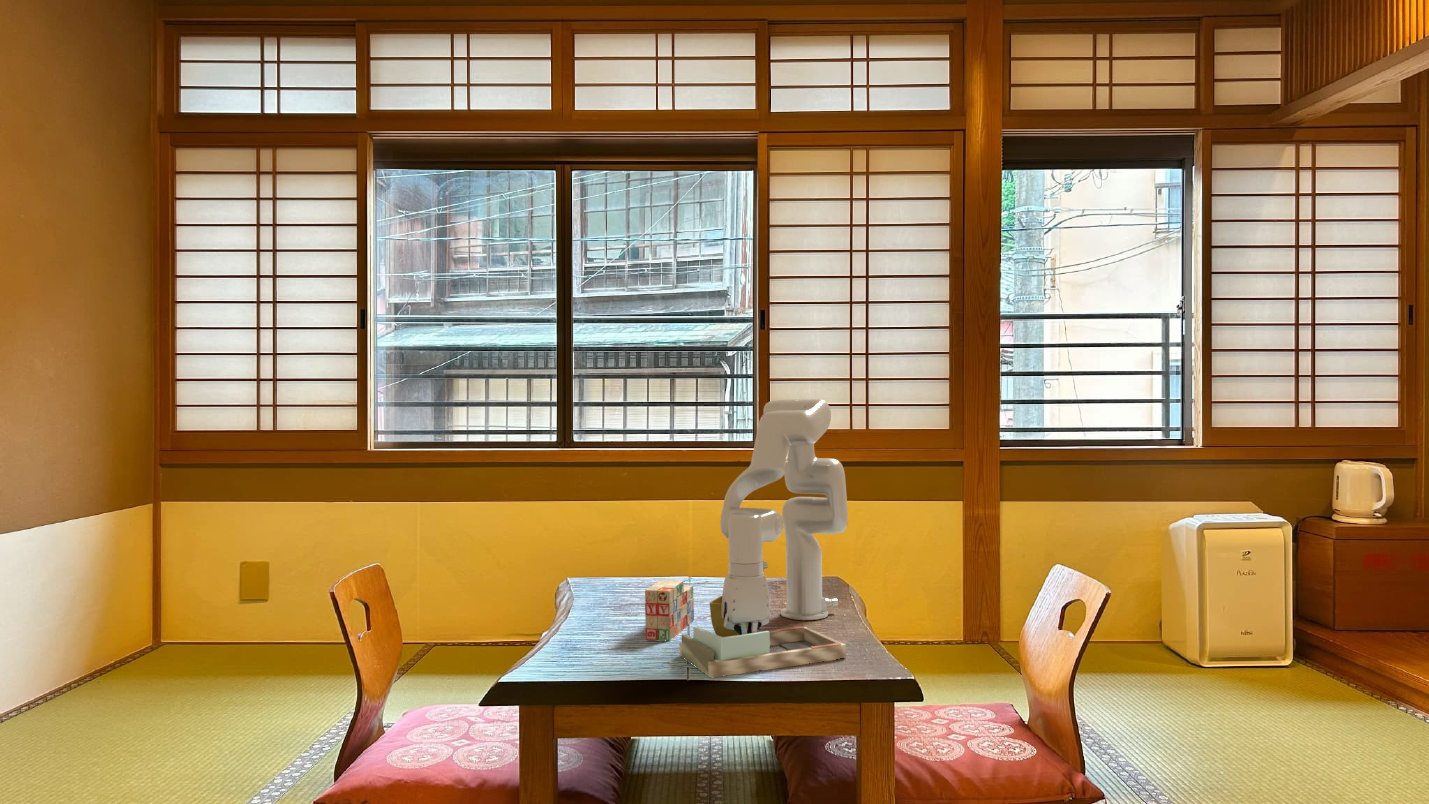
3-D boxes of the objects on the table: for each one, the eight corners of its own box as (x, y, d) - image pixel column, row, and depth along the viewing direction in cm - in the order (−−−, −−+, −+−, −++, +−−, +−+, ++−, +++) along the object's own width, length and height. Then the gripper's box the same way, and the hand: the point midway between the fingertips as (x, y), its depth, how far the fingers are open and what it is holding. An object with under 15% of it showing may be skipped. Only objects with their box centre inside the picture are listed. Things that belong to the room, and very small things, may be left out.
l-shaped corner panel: (769, 667, 176) (769, 631, 176) (721, 676, 170) (720, 639, 170) (740, 653, 186) (740, 620, 187) (693, 661, 180) (693, 627, 181)
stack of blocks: (671, 619, 219) (671, 572, 219) (694, 620, 218) (693, 573, 218) (645, 640, 199) (644, 589, 199) (670, 642, 197) (669, 590, 197)
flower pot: (754, 634, 203) (754, 597, 203) (744, 643, 195) (743, 605, 195) (720, 631, 206) (720, 595, 206) (708, 640, 197) (708, 602, 198)
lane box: (806, 639, 198) (805, 618, 198) (846, 658, 182) (845, 635, 182) (679, 655, 185) (679, 633, 185) (710, 678, 169) (710, 653, 169)
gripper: (767, 563, 188) (769, 644, 188) (707, 569, 182) (709, 653, 182) (783, 569, 182) (785, 653, 181) (722, 575, 175) (723, 662, 175)
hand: (747, 652), depth 182 cm, fingers closed
